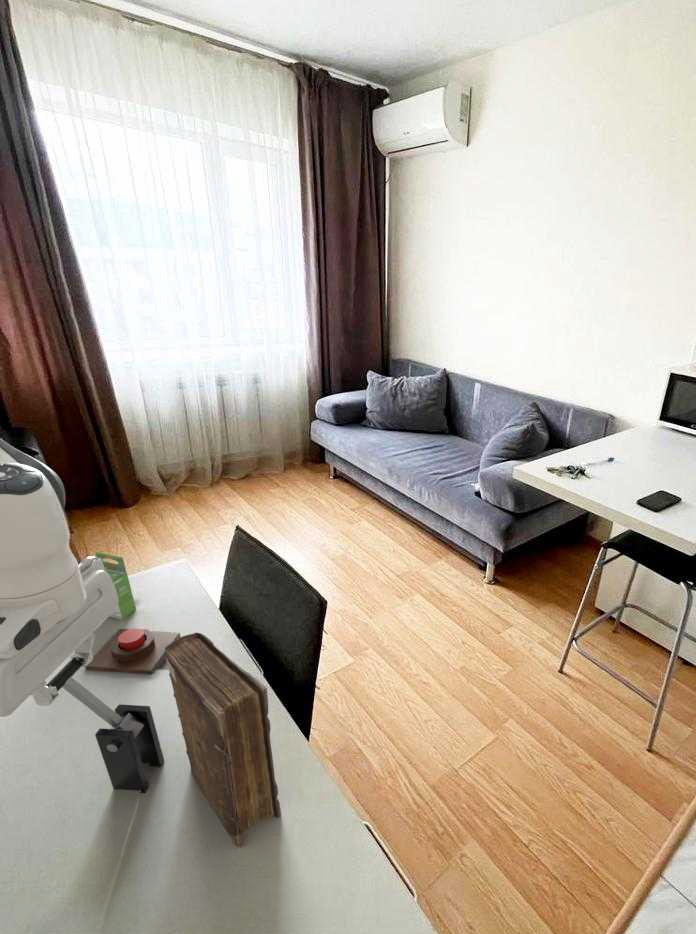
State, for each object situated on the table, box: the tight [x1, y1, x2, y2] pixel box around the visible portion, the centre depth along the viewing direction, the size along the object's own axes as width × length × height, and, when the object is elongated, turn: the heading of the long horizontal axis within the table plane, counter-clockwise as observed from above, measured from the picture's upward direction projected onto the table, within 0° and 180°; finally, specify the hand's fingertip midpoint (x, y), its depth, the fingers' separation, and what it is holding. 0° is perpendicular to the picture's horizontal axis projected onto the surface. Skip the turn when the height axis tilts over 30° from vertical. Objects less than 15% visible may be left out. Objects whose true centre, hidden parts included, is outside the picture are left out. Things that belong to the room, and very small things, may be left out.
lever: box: [45, 659, 144, 738], centre depth 66 cm, size 13×5×2 cm
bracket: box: [94, 703, 165, 794], centre depth 70 cm, size 12×9×13 cm
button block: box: [84, 628, 182, 675], centre depth 93 cm, size 12×10×4 cm
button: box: [118, 627, 145, 650], centre depth 92 cm, size 4×4×2 cm
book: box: [164, 632, 282, 849], centre depth 66 cm, size 17×7×25 cm, turn 45°
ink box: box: [94, 551, 137, 621], centre depth 102 cm, size 7×4×13 cm, turn 76°
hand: (66, 681), depth 64 cm, fingers closed on lever, 5 cm apart
